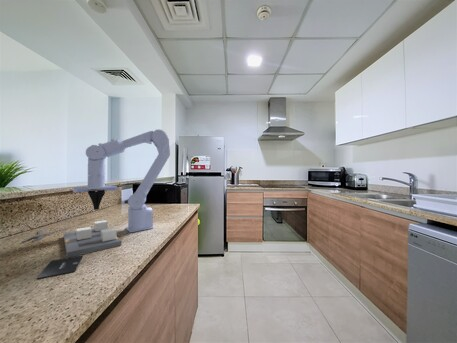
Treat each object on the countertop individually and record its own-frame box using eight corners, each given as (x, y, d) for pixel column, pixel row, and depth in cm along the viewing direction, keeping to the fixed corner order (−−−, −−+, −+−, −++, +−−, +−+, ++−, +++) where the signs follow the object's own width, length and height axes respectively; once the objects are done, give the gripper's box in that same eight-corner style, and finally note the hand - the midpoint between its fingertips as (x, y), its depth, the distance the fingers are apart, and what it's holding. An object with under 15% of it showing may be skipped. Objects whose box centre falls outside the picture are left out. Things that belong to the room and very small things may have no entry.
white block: (114, 236, 68) (114, 227, 68) (116, 238, 66) (116, 230, 66) (100, 238, 66) (100, 230, 66) (102, 241, 63) (102, 232, 63)
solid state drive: (82, 257, 56) (82, 255, 56) (74, 273, 47) (74, 271, 47) (51, 263, 53) (51, 260, 53) (36, 281, 44) (36, 278, 44)
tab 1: (90, 235, 70) (90, 226, 70) (91, 237, 67) (91, 228, 67) (76, 237, 67) (76, 228, 67) (77, 240, 64) (77, 231, 64)
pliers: (71, 224, 88) (57, 237, 70) (71, 226, 88) (57, 240, 70) (42, 227, 83) (20, 242, 65) (42, 229, 83) (20, 244, 65)
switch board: (107, 229, 81) (107, 225, 81) (121, 245, 65) (121, 240, 65) (63, 237, 72) (63, 233, 72) (67, 257, 55) (67, 252, 55)
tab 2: (105, 227, 79) (105, 220, 79) (107, 229, 76) (107, 221, 76) (94, 229, 76) (94, 221, 76) (95, 231, 74) (95, 223, 74)
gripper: (114, 175, 86) (114, 205, 86) (72, 175, 76) (72, 210, 76) (118, 175, 80) (118, 208, 80) (74, 176, 71) (74, 213, 71)
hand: (96, 209), depth 78 cm, fingers closed
